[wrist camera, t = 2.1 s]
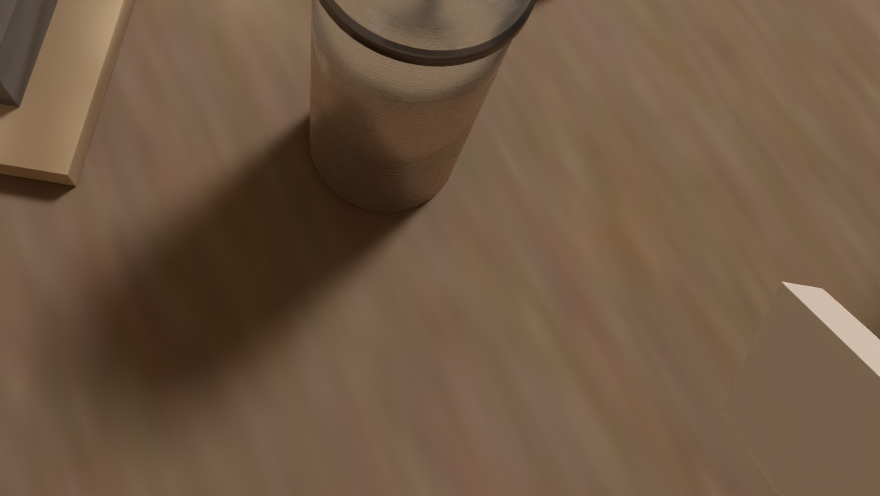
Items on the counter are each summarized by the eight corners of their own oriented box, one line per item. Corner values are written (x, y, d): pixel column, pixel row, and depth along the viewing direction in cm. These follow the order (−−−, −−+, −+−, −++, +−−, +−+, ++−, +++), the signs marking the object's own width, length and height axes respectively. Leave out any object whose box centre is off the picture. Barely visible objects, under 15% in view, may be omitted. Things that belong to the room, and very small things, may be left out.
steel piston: (465, 93, 30) (558, -137, 19) (450, 228, 28) (546, 55, 17) (319, 65, 30) (329, -194, 18) (293, 201, 27) (285, 1, 16)
